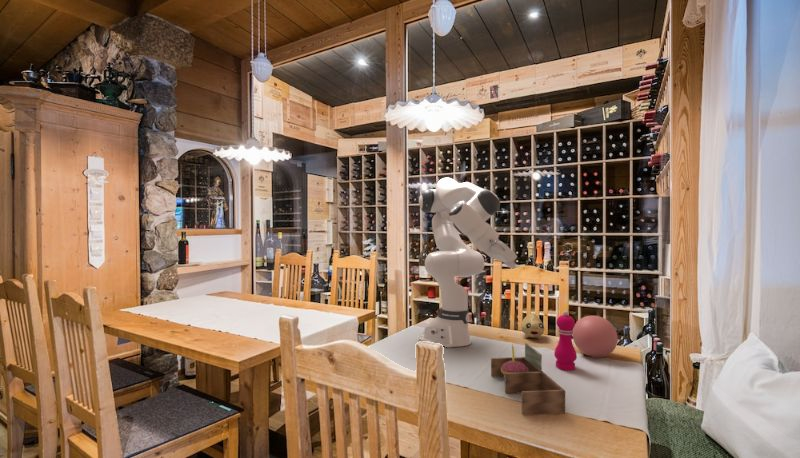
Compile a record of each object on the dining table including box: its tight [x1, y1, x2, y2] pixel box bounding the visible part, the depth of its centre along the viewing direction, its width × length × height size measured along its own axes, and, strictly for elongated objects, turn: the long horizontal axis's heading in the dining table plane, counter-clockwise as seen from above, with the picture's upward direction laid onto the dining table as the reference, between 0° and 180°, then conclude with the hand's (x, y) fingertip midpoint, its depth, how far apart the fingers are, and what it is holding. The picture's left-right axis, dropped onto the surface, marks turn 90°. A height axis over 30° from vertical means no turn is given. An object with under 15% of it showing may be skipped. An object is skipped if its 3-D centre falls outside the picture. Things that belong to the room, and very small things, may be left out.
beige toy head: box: [520, 313, 545, 340], centre depth 173 cm, size 10×12×11 cm
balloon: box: [572, 315, 619, 358], centre depth 152 cm, size 15×20×15 cm
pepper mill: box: [554, 310, 577, 372], centre depth 138 cm, size 7×7×20 cm
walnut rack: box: [490, 343, 566, 416], centre depth 118 cm, size 12×26×11 cm, turn 5°
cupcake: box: [501, 344, 529, 378], centre depth 124 cm, size 9×8×12 cm
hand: (513, 267), depth 139 cm, fingers closed
